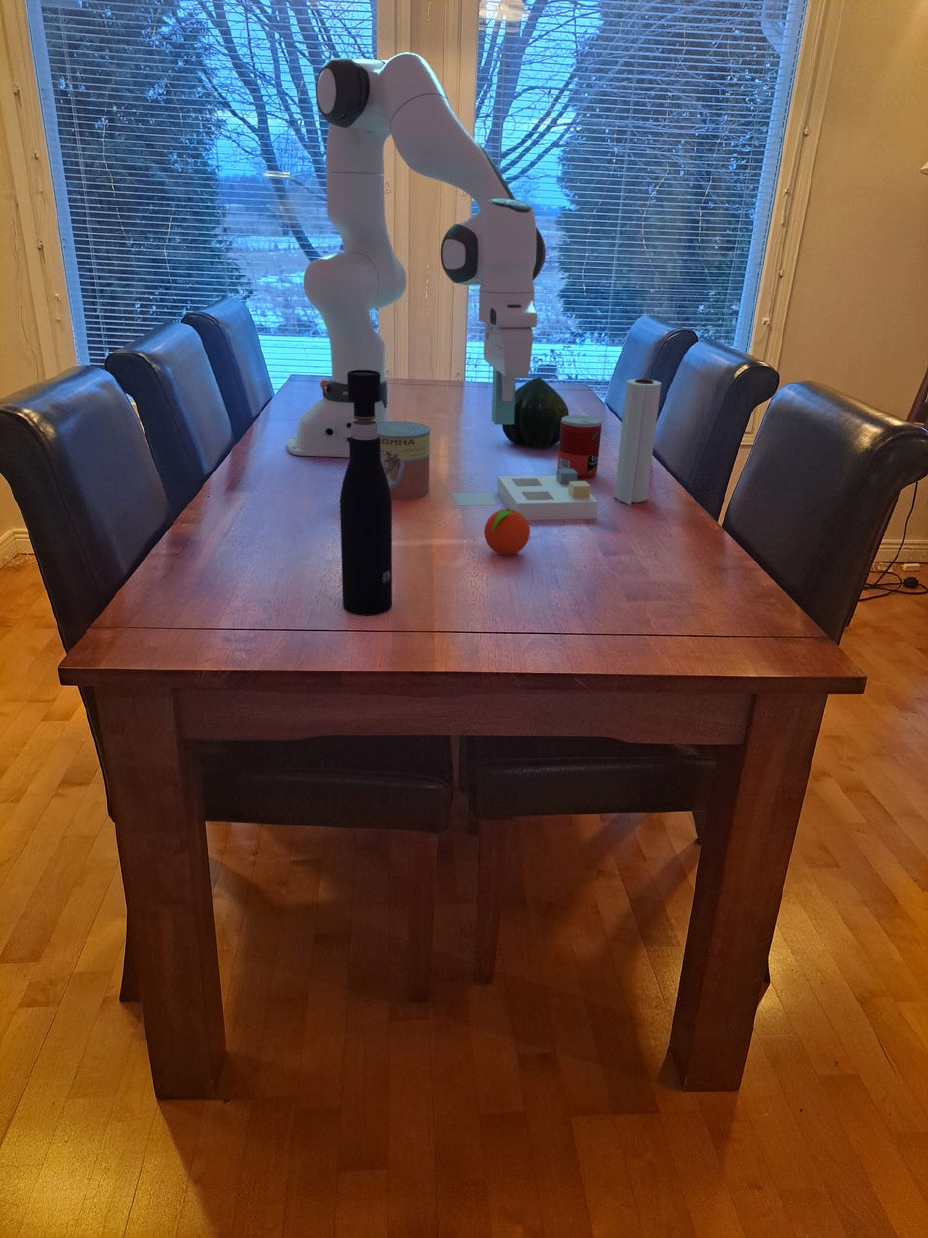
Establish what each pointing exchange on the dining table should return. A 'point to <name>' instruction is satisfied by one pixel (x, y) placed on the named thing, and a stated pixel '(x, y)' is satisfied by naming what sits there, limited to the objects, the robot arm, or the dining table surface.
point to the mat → (473, 499)
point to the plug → (501, 402)
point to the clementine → (507, 532)
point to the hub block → (548, 496)
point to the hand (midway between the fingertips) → (503, 397)
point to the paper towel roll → (637, 440)
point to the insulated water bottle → (365, 506)
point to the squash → (536, 415)
